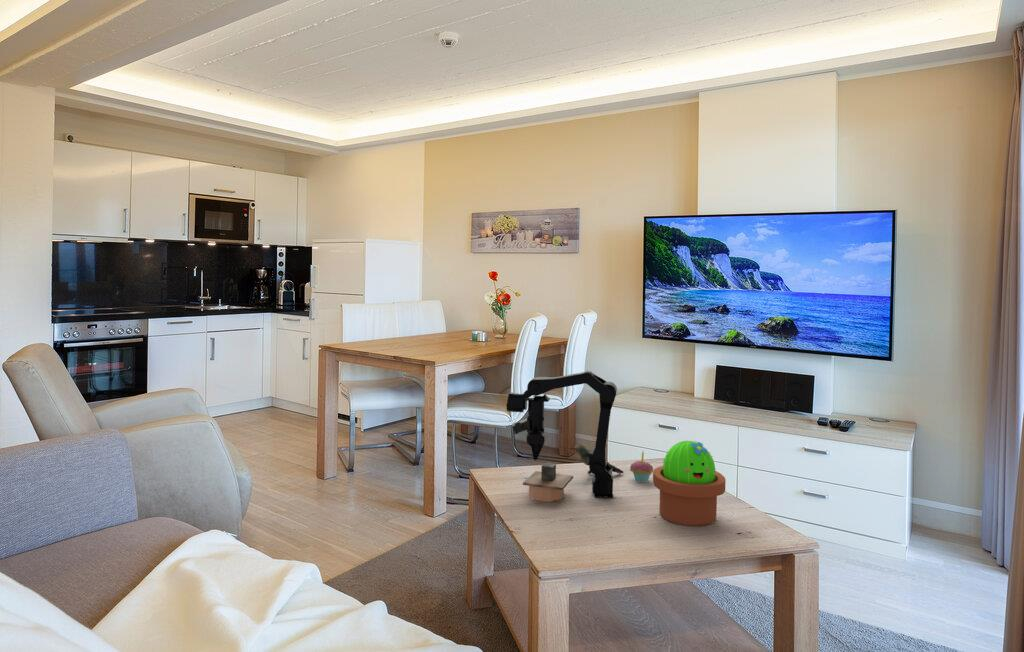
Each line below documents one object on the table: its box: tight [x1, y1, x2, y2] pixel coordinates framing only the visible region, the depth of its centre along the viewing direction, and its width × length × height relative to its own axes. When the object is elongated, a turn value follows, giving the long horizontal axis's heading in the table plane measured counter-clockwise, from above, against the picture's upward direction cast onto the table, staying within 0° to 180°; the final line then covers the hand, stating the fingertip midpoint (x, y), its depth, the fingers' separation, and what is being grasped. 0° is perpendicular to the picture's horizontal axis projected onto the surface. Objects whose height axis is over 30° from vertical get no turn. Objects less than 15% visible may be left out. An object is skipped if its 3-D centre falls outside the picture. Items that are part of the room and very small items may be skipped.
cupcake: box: [629, 451, 654, 483], centre depth 235 cm, size 9×8×12 cm
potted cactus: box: [652, 440, 727, 527], centre depth 200 cm, size 22×22×25 cm
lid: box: [522, 462, 574, 490], centre depth 218 cm, size 14×14×6 cm
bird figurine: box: [569, 444, 624, 475], centre depth 241 cm, size 13×10×20 cm
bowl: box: [528, 486, 565, 502], centre depth 218 cm, size 12×12×5 cm
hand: (535, 456), depth 224 cm, fingers open, 9 cm apart
